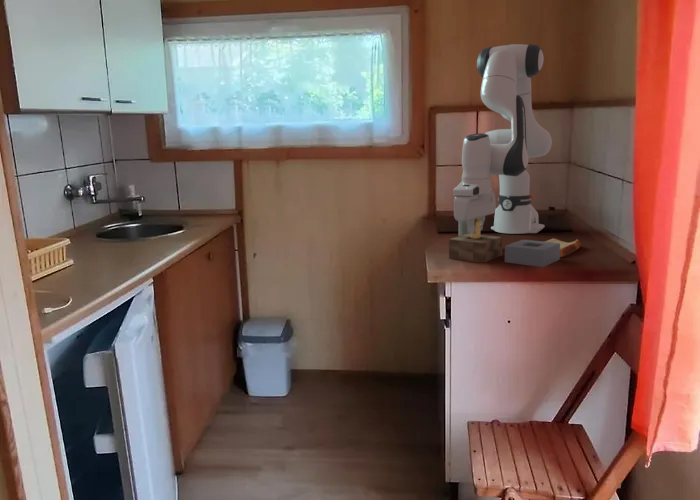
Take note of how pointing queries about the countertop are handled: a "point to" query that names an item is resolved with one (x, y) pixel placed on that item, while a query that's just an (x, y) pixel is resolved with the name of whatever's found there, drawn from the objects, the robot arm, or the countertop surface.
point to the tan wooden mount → (475, 248)
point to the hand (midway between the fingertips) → (475, 231)
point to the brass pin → (478, 230)
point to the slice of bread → (566, 246)
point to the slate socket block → (532, 253)
